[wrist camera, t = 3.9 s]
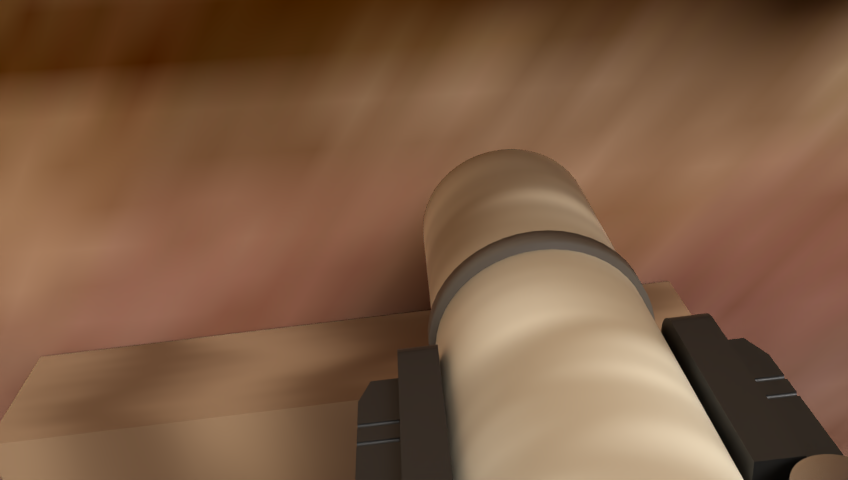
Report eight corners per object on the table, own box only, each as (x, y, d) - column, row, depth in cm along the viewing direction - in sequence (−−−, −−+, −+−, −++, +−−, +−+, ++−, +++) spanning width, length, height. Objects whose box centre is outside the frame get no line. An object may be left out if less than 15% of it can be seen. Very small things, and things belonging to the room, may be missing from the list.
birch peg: (591, 134, 18) (1068, 816, 6) (592, 290, 20) (944, 1052, 8) (408, 155, 18) (471, 882, 6) (427, 310, 20) (506, 1100, 8)
